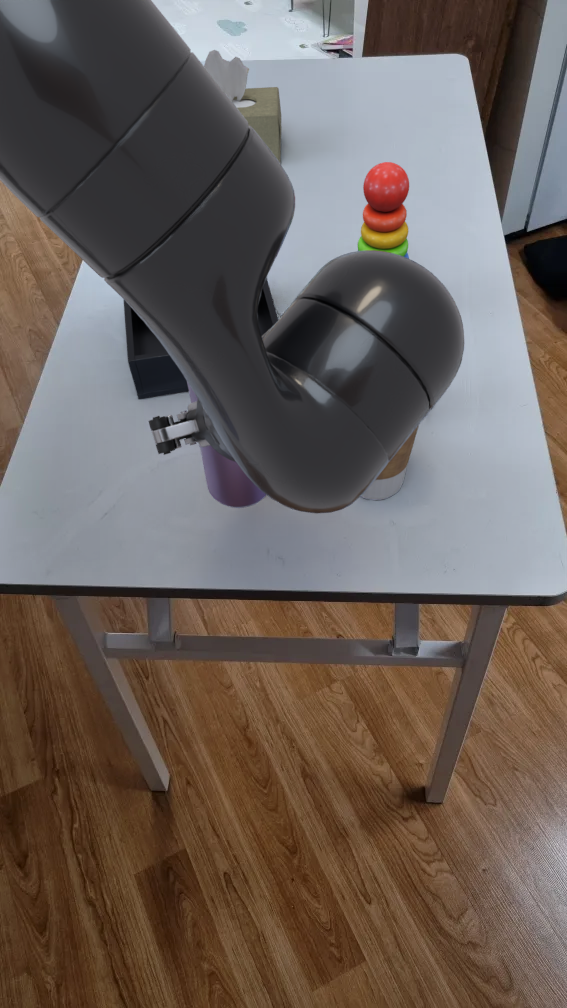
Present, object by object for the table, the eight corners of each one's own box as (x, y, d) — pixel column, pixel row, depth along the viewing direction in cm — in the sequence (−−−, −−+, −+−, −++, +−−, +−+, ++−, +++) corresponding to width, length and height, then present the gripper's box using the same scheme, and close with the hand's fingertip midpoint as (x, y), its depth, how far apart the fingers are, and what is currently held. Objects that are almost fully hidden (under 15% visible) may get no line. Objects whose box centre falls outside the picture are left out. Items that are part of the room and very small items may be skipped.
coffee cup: (406, 517, 72) (422, 410, 60) (325, 500, 74) (324, 393, 62) (422, 456, 77) (439, 346, 65) (345, 442, 79) (348, 332, 67)
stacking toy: (344, 290, 95) (347, 149, 81) (404, 285, 96) (418, 142, 81) (353, 328, 91) (358, 184, 76) (416, 322, 91) (433, 178, 76)
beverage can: (272, 511, 64) (261, 384, 52) (205, 512, 64) (179, 386, 52) (273, 461, 68) (263, 332, 56) (210, 462, 68) (187, 334, 56)
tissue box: (167, 170, 118) (148, 64, 105) (173, 141, 124) (156, 38, 111) (282, 165, 117) (277, 57, 104) (282, 136, 123) (277, 32, 110)
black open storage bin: (138, 399, 84) (127, 361, 80) (131, 309, 95) (121, 270, 91) (285, 376, 86) (283, 337, 81) (262, 289, 96) (259, 250, 92)
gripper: (354, 317, 46) (293, 352, 62) (132, 377, 43) (130, 396, 59) (384, 432, 47) (316, 436, 63) (169, 497, 44) (157, 483, 60)
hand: (226, 416), depth 61 cm, fingers closed on beverage can, 6 cm apart
